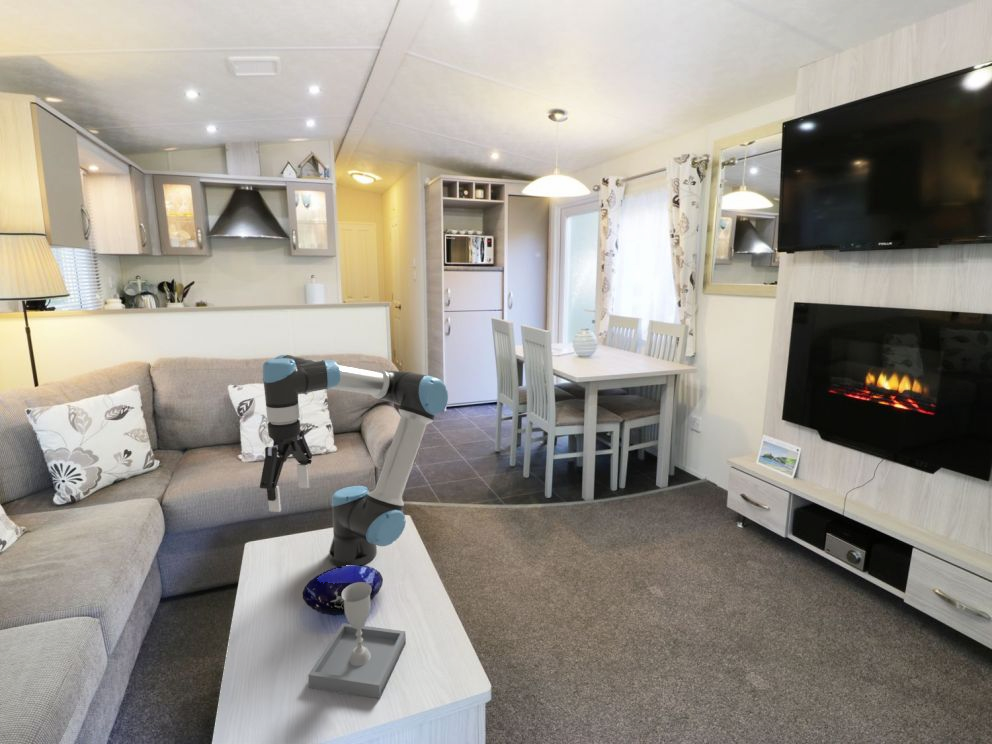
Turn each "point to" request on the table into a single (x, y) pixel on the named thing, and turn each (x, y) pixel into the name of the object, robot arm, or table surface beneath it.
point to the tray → (358, 680)
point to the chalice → (358, 617)
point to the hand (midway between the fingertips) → (290, 498)
